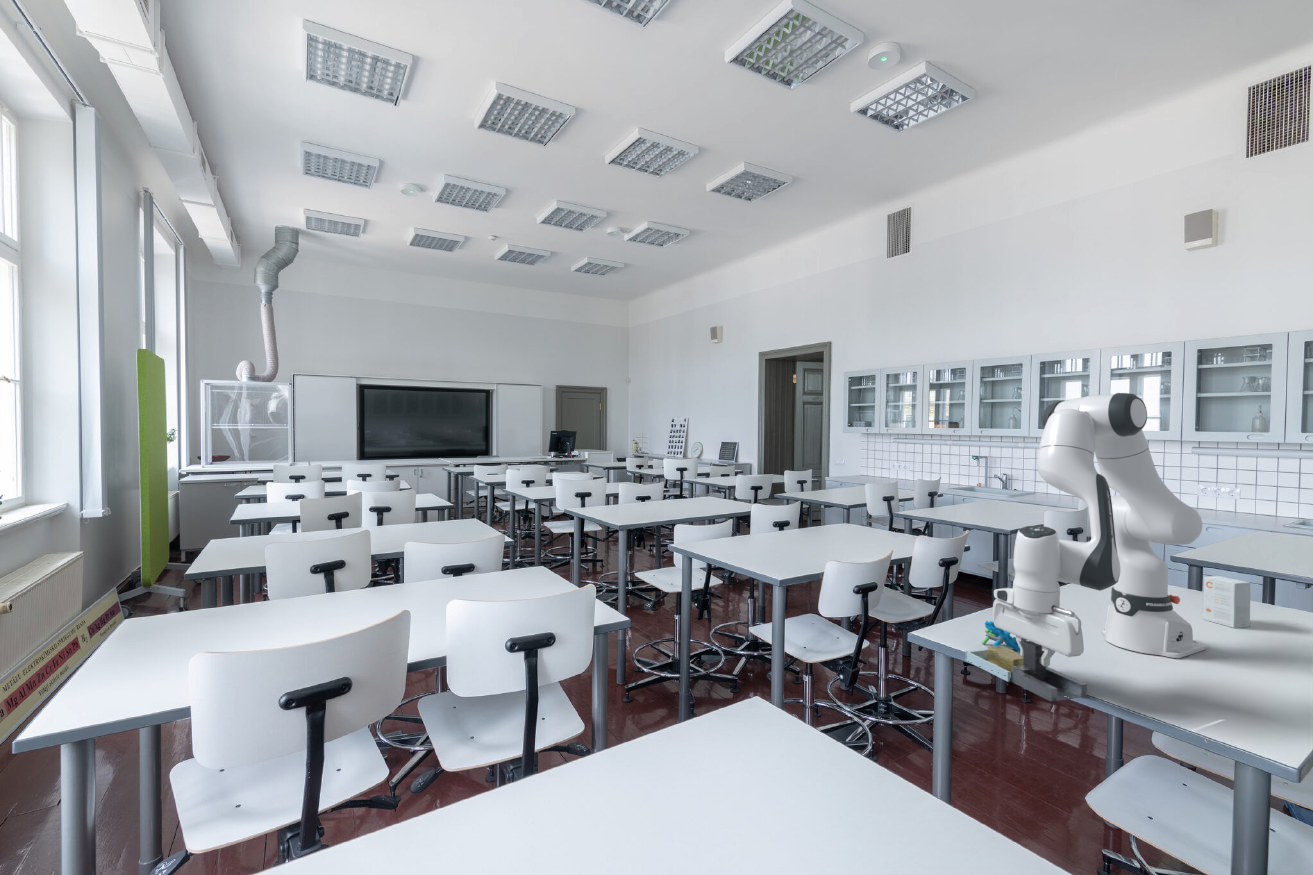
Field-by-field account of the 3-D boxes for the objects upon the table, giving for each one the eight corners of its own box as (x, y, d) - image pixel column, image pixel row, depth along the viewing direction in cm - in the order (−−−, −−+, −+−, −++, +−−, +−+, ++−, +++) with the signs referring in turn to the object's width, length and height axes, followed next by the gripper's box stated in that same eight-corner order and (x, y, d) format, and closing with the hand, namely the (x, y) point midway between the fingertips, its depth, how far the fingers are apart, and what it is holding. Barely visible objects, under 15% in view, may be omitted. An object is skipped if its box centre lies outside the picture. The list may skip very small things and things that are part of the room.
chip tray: (1002, 656, 146) (1002, 647, 146) (1047, 677, 134) (1047, 667, 134) (965, 661, 143) (965, 651, 143) (1007, 682, 131) (1007, 672, 131)
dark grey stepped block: (1029, 671, 135) (1029, 637, 135) (1049, 680, 130) (1049, 644, 130) (1012, 674, 133) (1012, 639, 133) (1031, 682, 128) (1031, 646, 129)
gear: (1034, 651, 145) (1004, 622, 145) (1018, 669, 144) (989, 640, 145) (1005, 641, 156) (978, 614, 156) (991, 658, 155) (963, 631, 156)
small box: (1250, 627, 169) (1251, 582, 169) (1233, 628, 168) (1235, 583, 167) (1218, 618, 177) (1219, 575, 177) (1201, 619, 175) (1203, 576, 175)
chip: (1012, 668, 138) (1012, 651, 138) (1026, 675, 134) (1027, 658, 134) (998, 669, 137) (998, 653, 137) (1012, 677, 133) (1013, 659, 133)
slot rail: (1044, 677, 134) (1044, 665, 133) (1086, 697, 124) (1086, 684, 124) (1010, 682, 131) (1010, 669, 131) (1051, 702, 121) (1051, 689, 121)
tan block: (1000, 661, 142) (1000, 645, 142) (1014, 667, 139) (1014, 651, 138) (987, 662, 141) (987, 646, 141) (1000, 669, 137) (1001, 652, 137)
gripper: (1092, 613, 121) (1091, 678, 121) (1009, 586, 141) (1008, 643, 141) (1068, 615, 120) (1067, 682, 120) (987, 588, 139) (987, 645, 140)
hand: (1034, 660), depth 131 cm, fingers closed on dark grey stepped block, 3 cm apart
